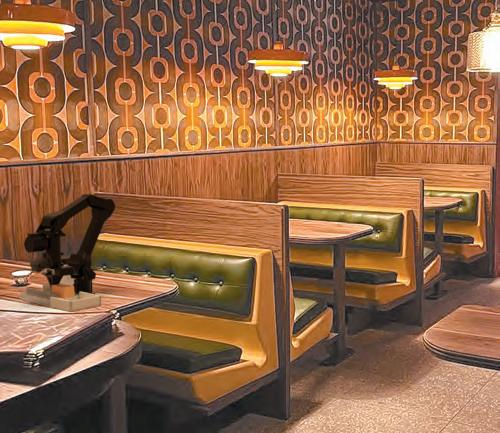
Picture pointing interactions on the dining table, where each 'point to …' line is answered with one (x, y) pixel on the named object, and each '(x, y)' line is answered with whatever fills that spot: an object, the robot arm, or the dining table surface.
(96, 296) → the chip tray
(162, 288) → the dining table surface
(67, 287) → the orange cube
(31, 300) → the slot plate
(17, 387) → the dining table surface
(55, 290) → the orange rounded block
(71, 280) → the jar
